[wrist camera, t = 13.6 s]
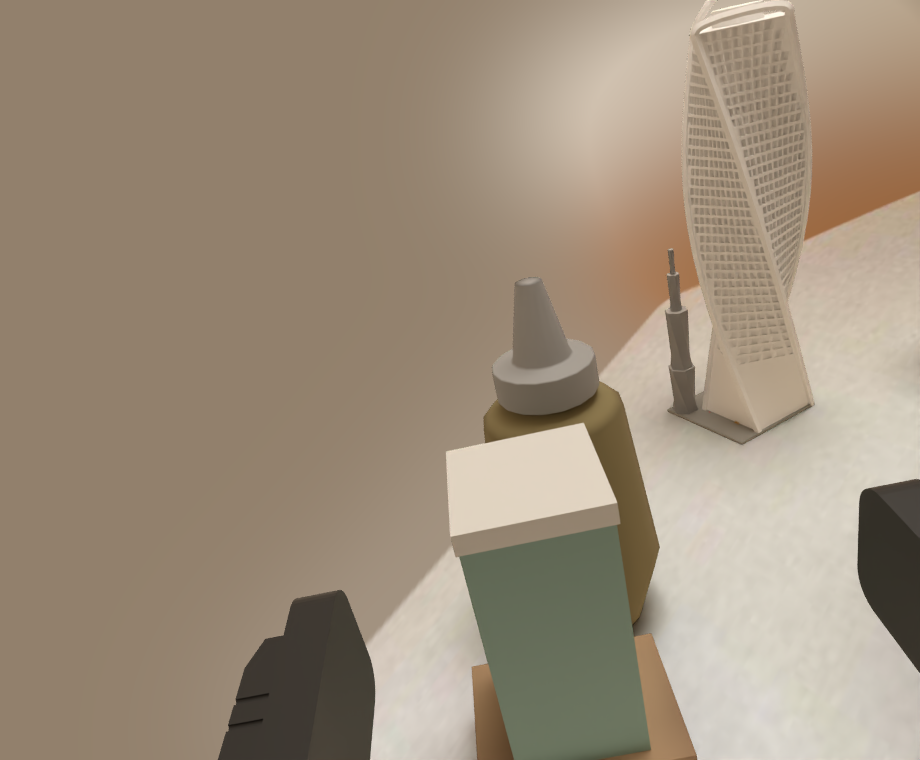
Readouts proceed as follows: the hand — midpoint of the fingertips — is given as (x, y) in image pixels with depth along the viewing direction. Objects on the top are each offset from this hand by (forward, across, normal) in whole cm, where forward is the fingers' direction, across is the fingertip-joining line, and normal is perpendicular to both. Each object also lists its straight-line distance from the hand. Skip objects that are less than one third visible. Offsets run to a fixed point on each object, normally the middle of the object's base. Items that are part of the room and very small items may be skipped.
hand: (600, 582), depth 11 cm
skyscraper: (+36, -16, +21) cm, 45 cm away
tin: (+12, +1, +17) cm, 21 cm away
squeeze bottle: (+20, -1, +20) cm, 29 cm away
